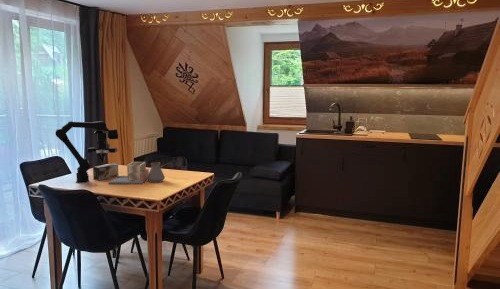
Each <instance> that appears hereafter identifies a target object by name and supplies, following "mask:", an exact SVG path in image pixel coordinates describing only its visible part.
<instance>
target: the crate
mask: <svg viewBox="0 0 500 289" xmlns="http://www.w3.org/2000/svg"><path fill="white" fill-rule="evenodd" d="M146 166H147V163H146V161H132V162H130V163H128V164H126V170H127V175H126V176H128V181H141V173H142V172H143V171H145V170H146V169H147V167H146Z"/></svg>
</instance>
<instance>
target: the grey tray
mask: <svg viewBox="0 0 500 289" xmlns="http://www.w3.org/2000/svg"><path fill="white" fill-rule="evenodd" d="M149 172H150V169H149V168H146V170H145V171H143V172H142V173H141V181H128V175H119V176H117V177H114V179H112V180H109V181H108V185H144V184H145V183H146V182H147V181H149V180H148V179H147V177H148V175H149Z"/></svg>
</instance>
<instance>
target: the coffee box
mask: <svg viewBox="0 0 500 289" xmlns="http://www.w3.org/2000/svg"><path fill="white" fill-rule="evenodd" d="M92 171H93V172H92V173H93V175H92V176H93V180H96V181H102V180H105V179H106V180H107V179H111V178H117V176H120V175H119V164H118V163H108V164H102V165H97V166H92Z"/></svg>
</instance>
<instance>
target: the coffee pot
mask: <svg viewBox="0 0 500 289" xmlns="http://www.w3.org/2000/svg"><path fill="white" fill-rule="evenodd" d="M150 165H151V166H150V167H151V168H150V169H149V175H148V177H147V179H148V180H147V181H148V182H150V183H152V184H158V183H159V184H160V183H162V182H163V181H164V180H165V174H164V172H163V171H162V168H163V167H166V166H169V165H172V162H171V161H170V162H168V163H164V164H162V165H161V162H160V161H159V162H158V161H157V162H156V161H154V162H151V163H150ZM160 165H161V166H160Z"/></svg>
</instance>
